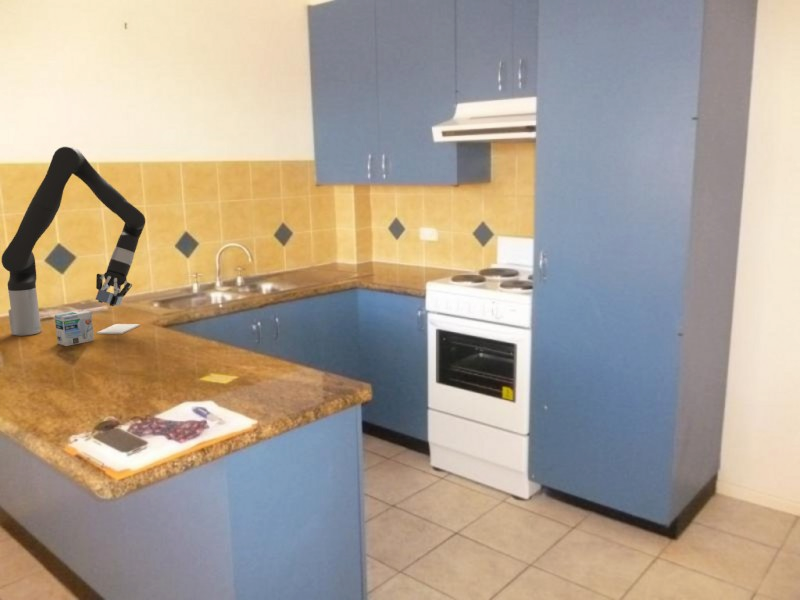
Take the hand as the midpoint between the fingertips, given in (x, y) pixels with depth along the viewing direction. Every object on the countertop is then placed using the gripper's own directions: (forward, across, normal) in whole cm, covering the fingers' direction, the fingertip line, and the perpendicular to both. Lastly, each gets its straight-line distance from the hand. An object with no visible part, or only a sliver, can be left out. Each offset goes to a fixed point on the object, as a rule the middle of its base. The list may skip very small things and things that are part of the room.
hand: (106, 303), depth 253 cm
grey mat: (+8, +4, +8) cm, 12 cm away
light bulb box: (+16, -1, -9) cm, 19 cm away
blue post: (-3, 0, +7) cm, 8 cm away
